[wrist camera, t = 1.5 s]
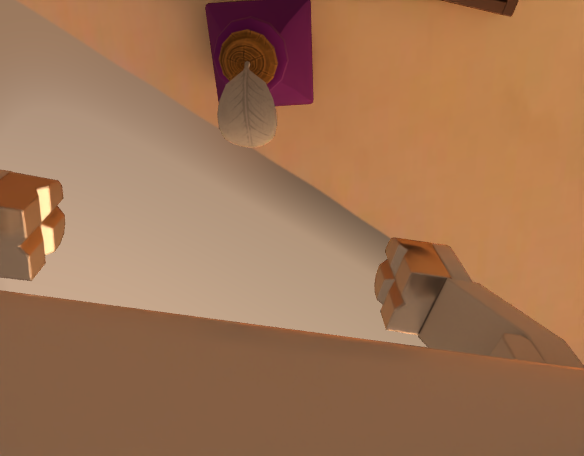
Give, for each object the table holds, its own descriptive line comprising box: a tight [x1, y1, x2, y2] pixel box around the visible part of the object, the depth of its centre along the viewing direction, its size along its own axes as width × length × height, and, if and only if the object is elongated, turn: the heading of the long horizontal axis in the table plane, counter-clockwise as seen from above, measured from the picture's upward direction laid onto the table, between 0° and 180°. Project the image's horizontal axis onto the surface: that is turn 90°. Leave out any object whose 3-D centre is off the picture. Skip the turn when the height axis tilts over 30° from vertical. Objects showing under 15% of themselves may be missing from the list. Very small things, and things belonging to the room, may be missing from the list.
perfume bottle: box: [205, 0, 313, 148], centre depth 27 cm, size 8×8×18 cm
